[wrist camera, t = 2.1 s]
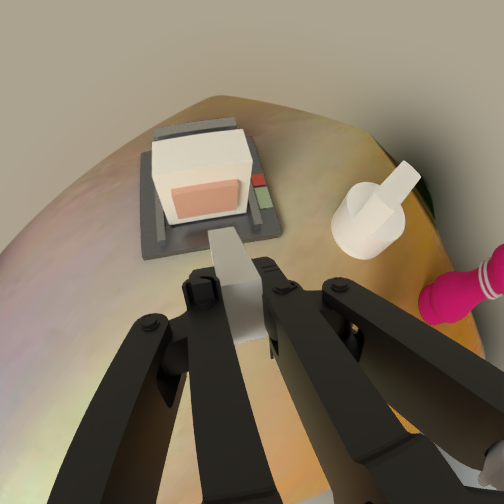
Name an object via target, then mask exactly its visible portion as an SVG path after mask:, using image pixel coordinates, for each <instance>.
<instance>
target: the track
mask: <svg viewBox="0 0 504 504" xmlns="http://www.w3.org/2000/svg"><path fill="white" fill-rule="evenodd" d="M228 130H237V124H236V121H235V117H231V118H221V119H213V120H205V121H197V122H190V123H184V124H178V125H172V126H166V127H161V128H156V129H154V140H155V142H156V141H161V140H166V139H172V138H177V137H183V136H190V135H196V134H203V133H211V132H219V131H228ZM245 138H246V141H247V144H248V147H249V150H250V154H251V157H252V160H253V163H252V171H251V178H250V186H249V193H248V201H247V209H246V213H240V214H234V215H227V216H221V217H215V218H209V219H203V220H197V221H191V222H185V223H179V224H174V225H169V223H168V220H167V218H166V215H165V212H164V210H163V207H162V204H161V201H160V199H159V196H158V193H157V190H156V187H155V184H154V181H153V178H152V151H148V152H143V153H141V168H140V226H141V249H142V258H143V259H144V260H150V259H155V258H161V257H167V256H172V255H178V254H184V253H189V252H195V251H201V250H207V249H210V243H209V237H208V231H209V230H215V229H221V228H227V227H233V226H234V228H235V230H236V232H237V234H238V236H239V238H240V239H241V241H242V243H248V242H254V241H260V240H266V239H272V238H278V237H281V234H282V231H281V228H280V224H279V221H278V218H277V214H276V211H275V208H274V205H273V201H272V198H271V195H270V192H269V189H268V185H267V182H266V179H265V176H264V173H263V170H262V167H261V163H260V160H259V157H258V154H257V151H256V148H255V145H254V142H253V139H252V136H250V137H245Z"/></svg>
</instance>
